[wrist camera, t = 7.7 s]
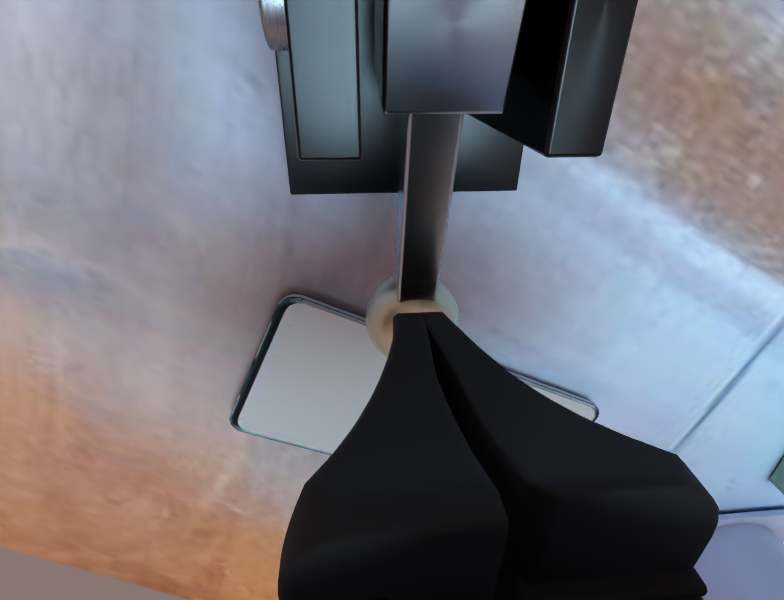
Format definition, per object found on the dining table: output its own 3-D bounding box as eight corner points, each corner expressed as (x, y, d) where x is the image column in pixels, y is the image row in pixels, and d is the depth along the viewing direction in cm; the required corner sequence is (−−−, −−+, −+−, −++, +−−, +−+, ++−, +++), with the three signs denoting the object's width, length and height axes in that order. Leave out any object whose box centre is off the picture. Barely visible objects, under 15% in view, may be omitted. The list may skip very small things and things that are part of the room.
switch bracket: (505, 180, 15) (623, 279, 9) (294, 184, 14) (254, 292, 8) (556, -202, 10) (882, -584, 4) (253, -220, 10) (89, -698, 4)
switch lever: (444, 314, 15) (460, 381, 13) (364, 317, 15) (368, 386, 13) (517, -108, 8) (578, -93, 6) (357, -114, 7) (363, -101, 6)
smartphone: (282, 292, 15) (605, 410, 20) (284, 285, 16) (599, 401, 20) (225, 428, 18) (518, 505, 23) (227, 418, 19) (514, 495, 23)
